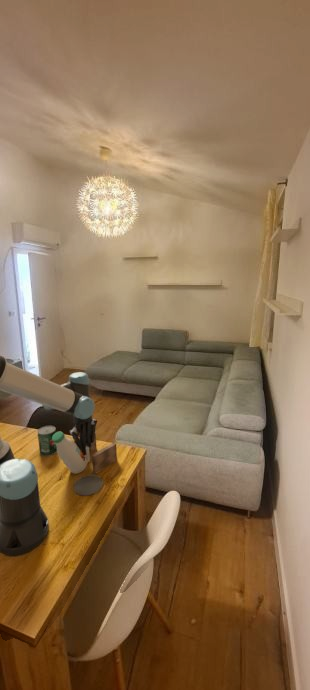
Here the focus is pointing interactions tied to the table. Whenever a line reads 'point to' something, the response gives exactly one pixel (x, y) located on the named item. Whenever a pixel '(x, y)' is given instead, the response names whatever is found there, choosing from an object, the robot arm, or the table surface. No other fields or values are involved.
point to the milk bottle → (69, 453)
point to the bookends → (103, 456)
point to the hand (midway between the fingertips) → (87, 460)
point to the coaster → (88, 485)
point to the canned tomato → (47, 440)
